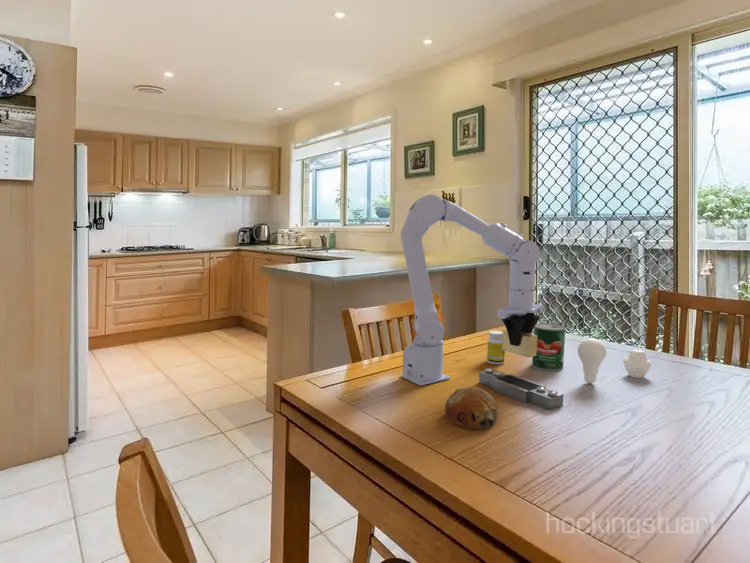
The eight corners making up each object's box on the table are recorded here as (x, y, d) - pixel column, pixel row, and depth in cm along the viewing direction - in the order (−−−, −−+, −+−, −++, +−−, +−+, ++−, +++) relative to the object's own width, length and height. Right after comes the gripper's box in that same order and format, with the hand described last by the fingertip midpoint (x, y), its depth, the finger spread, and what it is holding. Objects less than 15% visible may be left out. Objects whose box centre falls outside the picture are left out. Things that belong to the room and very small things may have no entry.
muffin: (655, 378, 113) (658, 350, 113) (640, 381, 111) (642, 353, 110) (632, 371, 119) (634, 344, 118) (616, 374, 116) (618, 347, 115)
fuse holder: (545, 411, 93) (546, 396, 93) (475, 383, 109) (476, 370, 109) (565, 404, 97) (566, 390, 96) (495, 378, 113) (495, 366, 112)
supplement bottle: (506, 364, 124) (507, 334, 122) (488, 364, 124) (489, 334, 123) (501, 359, 128) (503, 330, 127) (484, 359, 128) (485, 330, 127)
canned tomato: (538, 371, 119) (540, 329, 117) (527, 361, 126) (529, 322, 125) (568, 371, 119) (571, 329, 117) (556, 361, 126) (558, 322, 125)
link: (528, 357, 109) (529, 335, 108) (501, 349, 115) (502, 328, 115) (536, 355, 110) (537, 333, 110) (509, 348, 117) (510, 327, 116)
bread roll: (491, 429, 93) (488, 389, 96) (507, 429, 83) (502, 384, 86) (442, 429, 93) (440, 389, 95) (452, 429, 83) (450, 384, 85)
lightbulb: (588, 389, 106) (591, 342, 104) (570, 380, 111) (572, 336, 110) (610, 386, 107) (613, 341, 106) (591, 378, 113) (594, 334, 112)
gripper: (514, 293, 104) (512, 352, 105) (554, 289, 112) (551, 343, 113) (491, 290, 110) (489, 345, 111) (530, 285, 117) (528, 337, 119)
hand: (519, 344), depth 113 cm, fingers closed on link, 3 cm apart
